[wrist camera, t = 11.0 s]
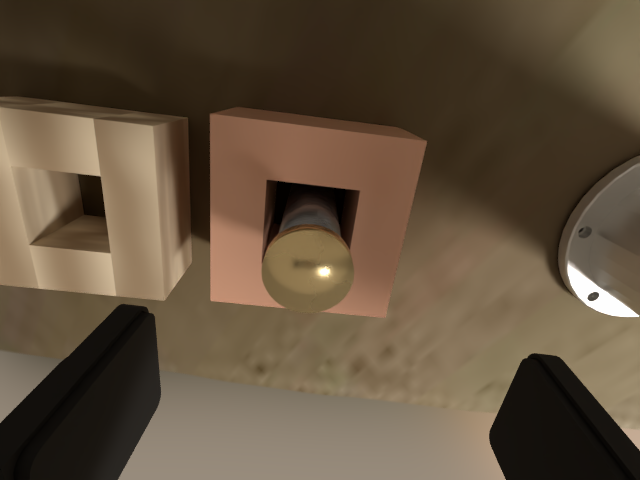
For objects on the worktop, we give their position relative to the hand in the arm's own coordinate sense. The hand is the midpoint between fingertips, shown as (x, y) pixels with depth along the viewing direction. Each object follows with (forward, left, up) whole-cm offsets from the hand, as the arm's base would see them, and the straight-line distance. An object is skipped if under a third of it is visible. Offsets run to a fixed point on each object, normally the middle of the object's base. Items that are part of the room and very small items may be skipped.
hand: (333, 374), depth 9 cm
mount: (+14, +1, -16) cm, 21 cm away
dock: (+1, 0, -16) cm, 16 cm away
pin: (+1, 0, -16) cm, 16 cm away
